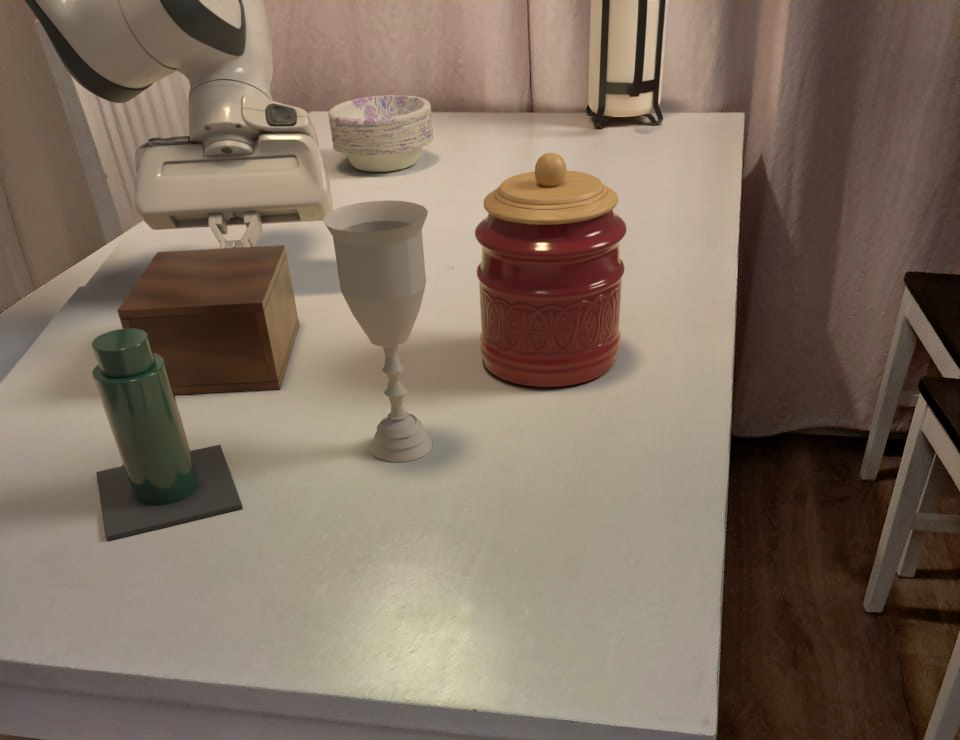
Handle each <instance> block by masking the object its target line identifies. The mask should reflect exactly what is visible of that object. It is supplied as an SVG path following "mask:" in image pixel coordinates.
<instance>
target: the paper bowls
mask: <svg viewBox="0 0 960 740" xmlns="http://www.w3.org/2000/svg"><path fill="white" fill-rule="evenodd" d="M327 116H328V122H329V129H330V134H331V142H332V149H333V150H334V151H335V152H339V153H341V154H344V155H345V156H346V158H347V159H348V161H349V163H350V164H351V166H352V167H354V168H355V169H357V170H359V171H363V172H367V173H368V172H369V173H387V172H388V173H389V172H394V171H395V172H396V171H401V170H403V169H406V168H409V167H411V166H413V165H415V164H416V163H417V162H418V161H419V160H420V158H421V154H422V151H423V148H424V147H426V146H427V145H430V144H431V143H432V142H433V141H434V125H433V115H432V105H431V102H430V101H429V100H428V99H426V98H424V97H421V96H420V97H419V96H417V95H416V96H415V95H405V94H384V95H383V94H382V95H371V96H363V97H359V98H358V97H357V98H353V99H350V100H346V101H343V102H340V103H338V104H336V105H334V106H332V107H331V108H330V109H329V111H328V114H327Z"/></svg>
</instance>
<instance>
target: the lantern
mask: <svg viewBox="0 0 960 740" xmlns="http://www.w3.org/2000/svg"><path fill="white" fill-rule="evenodd" d="M669 2H670V1H669V0H590V18H589V19H590V22H589V53H588V88H587V89H588V91H587V93H588V94H587V97H588V98H587V102H588V103H587V105H586V108H585V113H586V114H587V115H588V116H592V115H595V116H594V118H593V123H592V124H593V127H594V128H595V129H596V128H597V129H604V128H605V127H606V124H607V122H608V120H609V119H611V118H628V117H629V118H631V117H639V116H642V117H645V118H647V119H648V120H649V122H650V123H651V125H653V126H657V125H661V124H662V123H663V121H664V116H663V114H662V113H663V112H662V111H661V108H660V104H661V101H662V91H663V79H664V67H665V66H664V65H665V53H666V40H667V29H668V13H669ZM653 112H654V113H655V115H656V118H657V119H656V118H655V117H654V115H653V114H651V113H653Z"/></svg>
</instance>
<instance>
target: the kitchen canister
mask: <svg viewBox="0 0 960 740" xmlns="http://www.w3.org/2000/svg"><path fill="white" fill-rule="evenodd" d="M618 203H619V197H618V193H617V192H616V191H615V190H614V189H612V188H611V187H609V186H607V185H605V184H604V183H603V182H602V180H601V179H599V178H598V177H597V176H595V175H593V174H590V173H586V172H583V171H575V170H567V165H566V161H565V159H564V158H563V157H562V156H561V155H560V154H559V153H556V152H547V153H544V154H542V155H541V156H539V157H538V159H537V161H536V162H535V166H534V171H529V172H524V173H520V174H516V175H513V176H511V177H508V178H506V179H504V180H503V181H502V182H501V183H500V184H499V186H498V187H497V188H495V189H493V190H492V191H491V192H489V193H488V194H487V195H486V196H485V197H484V199H483V203H482V204H483V208H484V210H485V211H486V212H487V213H488V214H487V216H485V218H483V219H482V220H481V221H480V222H479V223H478V224H477V226H476V227H475V230H474V237H475V239H476V241H477V243H478V244H479V245H480V246H481V261H480V262H479V264H478V265H477V268H476V277H477V279H478V283H479V284H478V285H479V306H480V326H481V327H480V334H479V342H480V343H479V345H480V347H479V348H480V353H481V355H482V358H483V364H484V366H485V368H486V369H487V370H488V371H489V372H490V373H491V374H493V375H494V376H496V377H497V378H499V379H501V380H504V381H506V382H509V383H512V384H516V385H521V386H526V387H536V388H560V387H568V386H574V385H579V384H583V383H586V382H590V381H592V380H595V379H597V378H599V377H602V376H603V375H604V374H606V373H607V372H609V371H610V370H611V369H612V368H613V367H614V365H615V364H616V362H617V358H618V357H617V356H618V352H619V350H620V346H621V335H622V334H621V329H620V319H621V318H620V317H621V316H620V315H621V301H622V300H621V299H622V279H623V276H624V274H625V268H626V267H625V263H624V261H623V259H622V258H621V257H620V242H621V241H622V240H623V239H624V238H625V236H626V234H627V230H628V229H627V223H626V222H625V221H624V219H623V218H622V217H621V216H620V215H619V214H617V213H615V212H614V209H615V208H616V206H617V205H618Z"/></svg>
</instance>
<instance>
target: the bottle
mask: <svg viewBox="0 0 960 740" xmlns="http://www.w3.org/2000/svg"><path fill="white" fill-rule="evenodd" d="M91 348H92V350H93V353H94V357H95V359H96V363H97V365H95V366H94V368H93V369H92V372H91V375H92V378H93V381H94V384H95V388H96V390H97V392H98V395H99V399H100V402H101V404H102V407H103V410H104V413H105V416H106V418H107V419H106V420H107V421H108V425H109V427H110V430H111V433H112V436H113V439H114V441H115V445H116V448H117V451H118V454H119V457H120V459H121V462H122V466H124V468H125V471H126V474H127V477H128V480H129V483H130V486H131V488H132V491H133V494H134V497H135V498H136V499H137V500H138V501H140V502H142V503H145V504H150V505H162V504H169V503H173V502H176V501H179V500H182V499H184V498H186V497H187V496H189V495H190V494H192V493H193V492H194V491H195V490H196V489H197V487H198V484H199V479H198V476H197V472H196V469H195V465H194V462H193V458H192V455H191V451H192V450H191V448H190V445H189V441H188V438H187V434H186V431H185V427H184V423H183V420H182V416H181V414H180V409H179V407H178V406H179V405H178V403H177V400H176V395H174V392H173V388H172V385H171V381H170V378H169V375H168V371H167V368H166V364H165V361H164V359H163V357H161V356H160V355H158V354H156V353H153V350H152V347H151V344H150V340H149V337H148V334H147V333H146V332H145V331H143V330H140V329H133V328H128V329H123V328H119V329H115V330H110V331H107V332H104V333H102V334H100V335H97V337H95V338H94V339H93V340H92V342H91Z"/></svg>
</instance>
